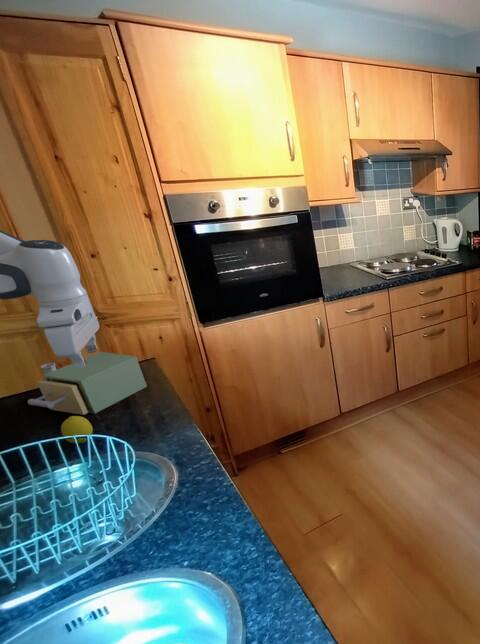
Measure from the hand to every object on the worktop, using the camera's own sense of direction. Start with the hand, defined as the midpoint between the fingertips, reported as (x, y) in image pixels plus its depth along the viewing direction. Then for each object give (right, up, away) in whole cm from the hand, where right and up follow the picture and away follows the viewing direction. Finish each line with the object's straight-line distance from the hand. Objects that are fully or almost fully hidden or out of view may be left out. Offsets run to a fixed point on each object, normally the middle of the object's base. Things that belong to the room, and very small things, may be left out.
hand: (87, 358), depth 115 cm
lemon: (-1, -22, 0) cm, 22 cm away
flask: (-29, -12, +22) cm, 38 cm away
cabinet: (-14, -12, +21) cm, 28 cm away
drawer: (-16, -14, +16) cm, 26 cm away
